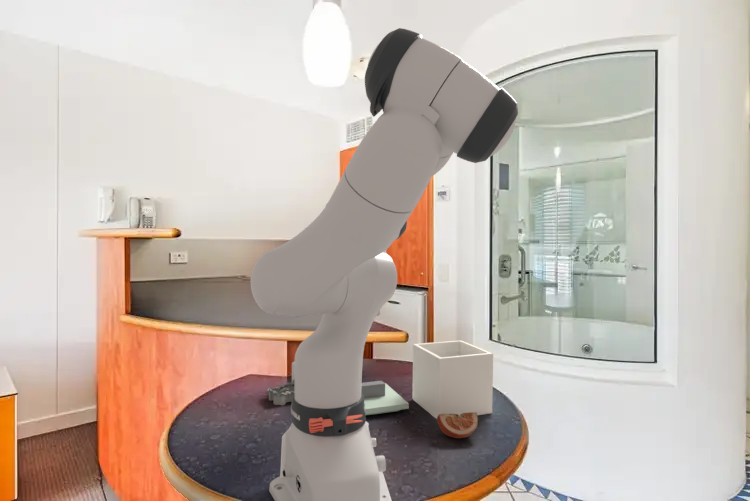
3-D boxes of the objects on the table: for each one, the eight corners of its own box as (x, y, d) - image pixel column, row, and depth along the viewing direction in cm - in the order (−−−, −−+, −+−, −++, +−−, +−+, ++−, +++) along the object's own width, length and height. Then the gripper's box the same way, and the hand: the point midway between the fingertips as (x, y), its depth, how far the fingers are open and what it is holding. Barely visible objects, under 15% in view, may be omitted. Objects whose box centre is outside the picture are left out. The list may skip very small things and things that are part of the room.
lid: (408, 412, 99) (408, 390, 99) (346, 421, 94) (347, 398, 94) (385, 391, 113) (385, 371, 113) (330, 397, 108) (330, 377, 108)
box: (492, 413, 99) (493, 353, 99) (439, 421, 95) (439, 358, 94) (460, 392, 112) (461, 340, 112) (412, 399, 108) (413, 344, 107)
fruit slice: (470, 428, 91) (470, 405, 91) (484, 443, 84) (484, 418, 84) (433, 431, 89) (433, 408, 89) (444, 446, 83) (444, 421, 83)
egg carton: (304, 391, 114) (305, 375, 114) (316, 400, 107) (316, 384, 107) (265, 398, 108) (265, 382, 108) (274, 408, 102) (275, 391, 102)
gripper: (397, 256, 94) (397, 318, 94) (367, 255, 113) (367, 306, 113) (370, 256, 92) (370, 319, 92) (344, 255, 111) (344, 308, 111)
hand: (368, 312), depth 103 cm, fingers open, 8 cm apart
